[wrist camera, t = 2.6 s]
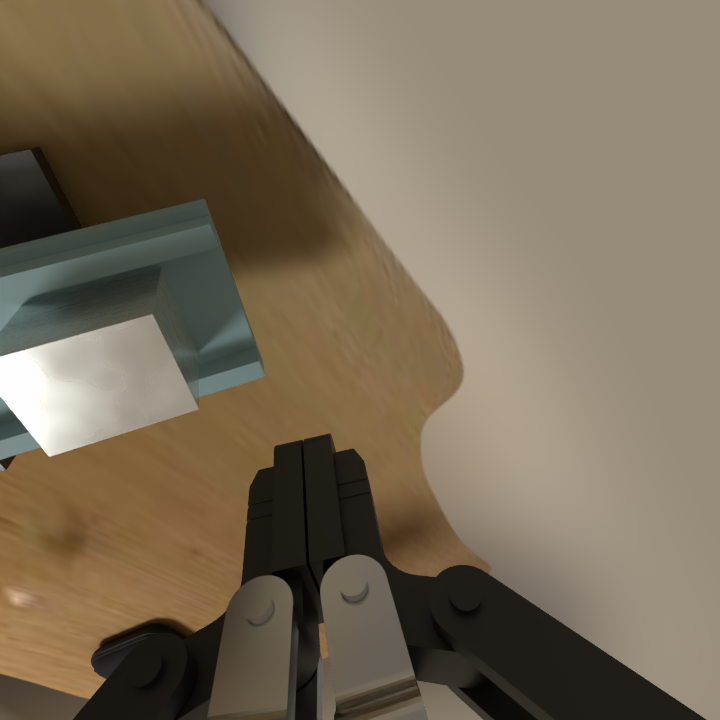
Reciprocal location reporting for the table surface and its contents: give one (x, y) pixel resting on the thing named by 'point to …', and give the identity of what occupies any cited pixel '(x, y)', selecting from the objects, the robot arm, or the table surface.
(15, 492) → the table surface
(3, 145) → the table surface
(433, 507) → the table surface
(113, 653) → the carrying case or bag
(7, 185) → the beam stand
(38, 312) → the steel slider
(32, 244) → the seesaw beam
